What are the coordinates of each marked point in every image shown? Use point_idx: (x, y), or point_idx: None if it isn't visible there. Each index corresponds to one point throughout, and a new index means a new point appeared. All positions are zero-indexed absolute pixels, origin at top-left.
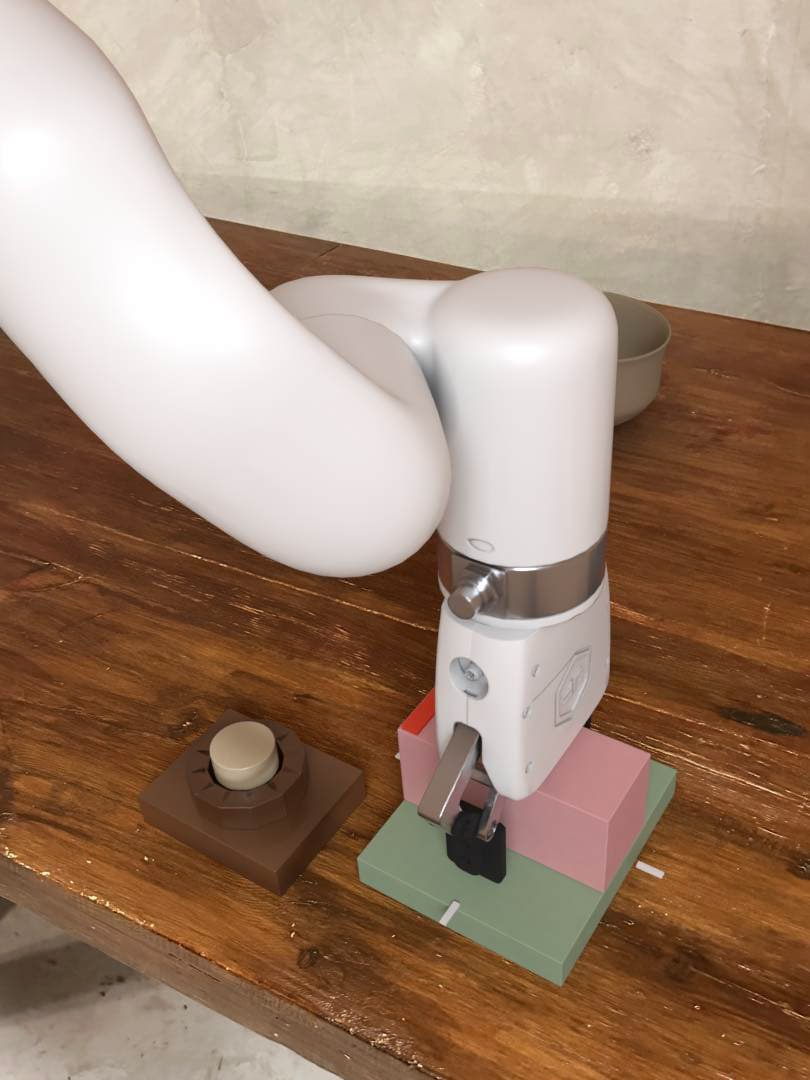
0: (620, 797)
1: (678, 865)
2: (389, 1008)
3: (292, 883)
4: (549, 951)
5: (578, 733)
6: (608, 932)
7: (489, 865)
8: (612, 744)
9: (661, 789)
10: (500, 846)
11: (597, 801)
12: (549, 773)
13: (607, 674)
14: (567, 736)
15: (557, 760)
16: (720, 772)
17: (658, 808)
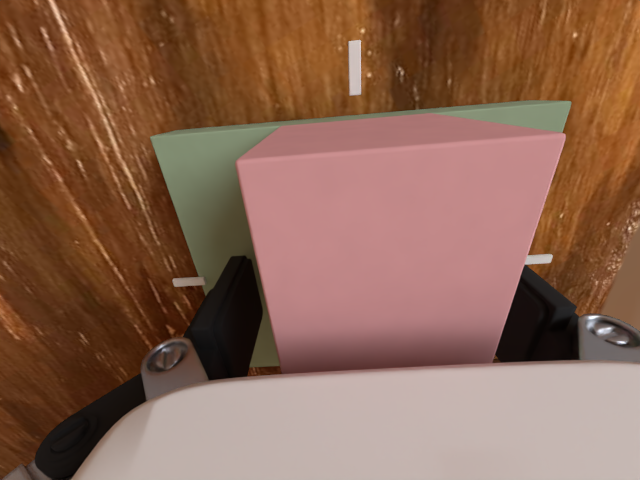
0: (457, 151)
1: (277, 59)
2: (599, 239)
3: (496, 360)
4: (553, 129)
5: (300, 334)
6: (427, 90)
7: None
8: (278, 264)
9: (201, 138)
10: (550, 285)
11: (497, 201)
12: (559, 364)
13: (110, 468)
14: (473, 433)
15: (507, 373)
16: (91, 90)
17: (228, 128)
